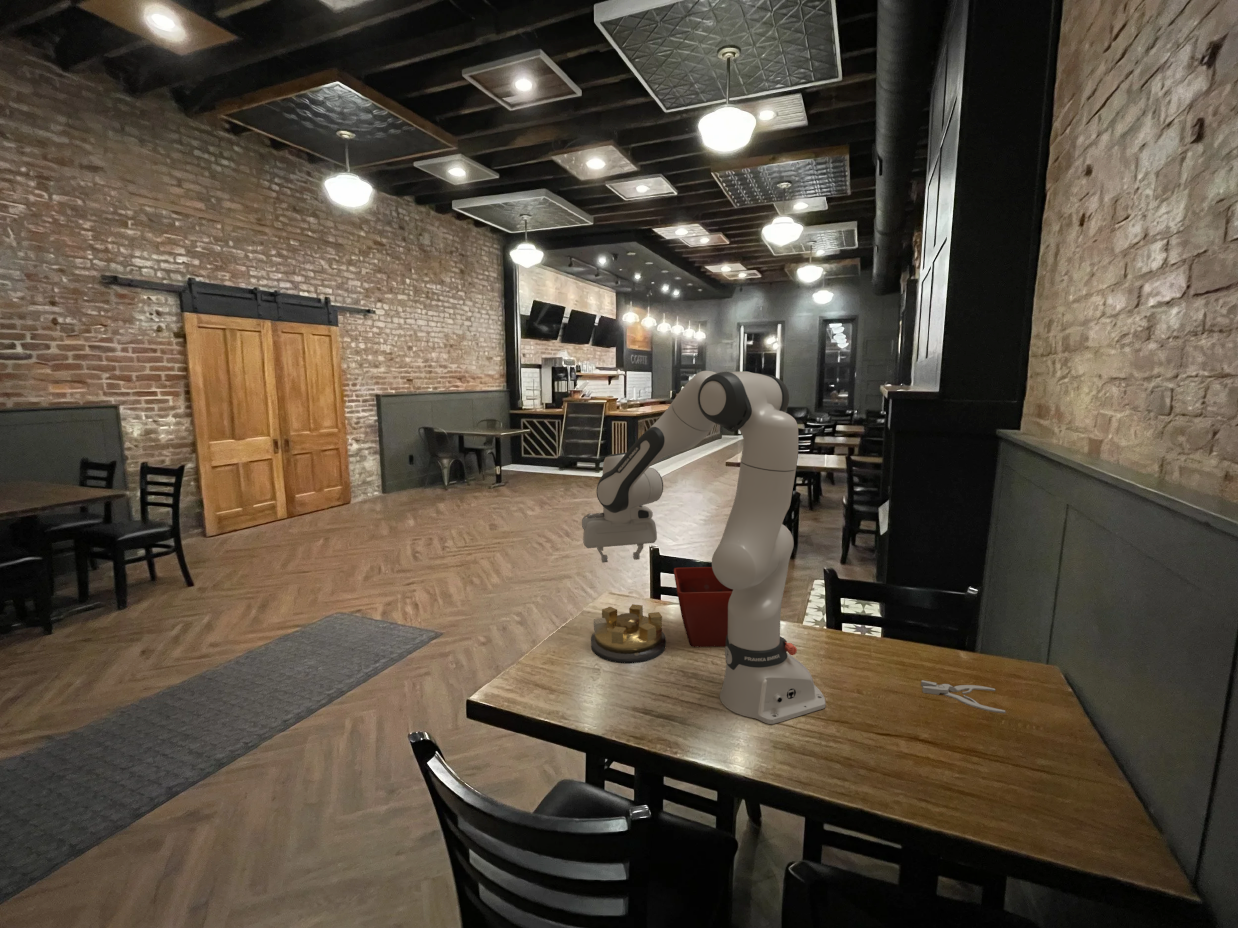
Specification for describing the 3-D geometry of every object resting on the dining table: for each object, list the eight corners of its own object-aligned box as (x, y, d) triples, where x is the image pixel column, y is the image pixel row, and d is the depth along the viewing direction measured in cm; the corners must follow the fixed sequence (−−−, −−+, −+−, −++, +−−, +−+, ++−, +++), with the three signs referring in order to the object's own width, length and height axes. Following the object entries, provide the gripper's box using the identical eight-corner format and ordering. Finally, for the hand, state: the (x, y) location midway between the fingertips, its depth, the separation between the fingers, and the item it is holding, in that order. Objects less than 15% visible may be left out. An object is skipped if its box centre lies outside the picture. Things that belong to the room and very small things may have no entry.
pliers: (1006, 708, 117) (924, 694, 122) (1005, 715, 117) (924, 701, 123) (994, 684, 126) (919, 672, 131) (994, 690, 126) (918, 679, 132)
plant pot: (678, 653, 146) (677, 591, 143) (673, 622, 164) (673, 567, 162) (752, 653, 145) (753, 591, 142) (739, 622, 164) (740, 566, 161)
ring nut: (652, 619, 161) (651, 601, 160) (670, 648, 144) (670, 628, 143) (590, 626, 158) (589, 607, 157) (600, 656, 140) (600, 636, 140)
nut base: (654, 625, 163) (654, 617, 162) (675, 658, 143) (675, 649, 143) (586, 632, 159) (585, 625, 159) (597, 667, 140) (597, 658, 139)
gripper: (583, 516, 148) (584, 567, 150) (658, 511, 152) (658, 560, 154) (580, 511, 154) (581, 560, 156) (652, 506, 158) (652, 554, 160)
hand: (620, 560), depth 155 cm, fingers open, 8 cm apart
